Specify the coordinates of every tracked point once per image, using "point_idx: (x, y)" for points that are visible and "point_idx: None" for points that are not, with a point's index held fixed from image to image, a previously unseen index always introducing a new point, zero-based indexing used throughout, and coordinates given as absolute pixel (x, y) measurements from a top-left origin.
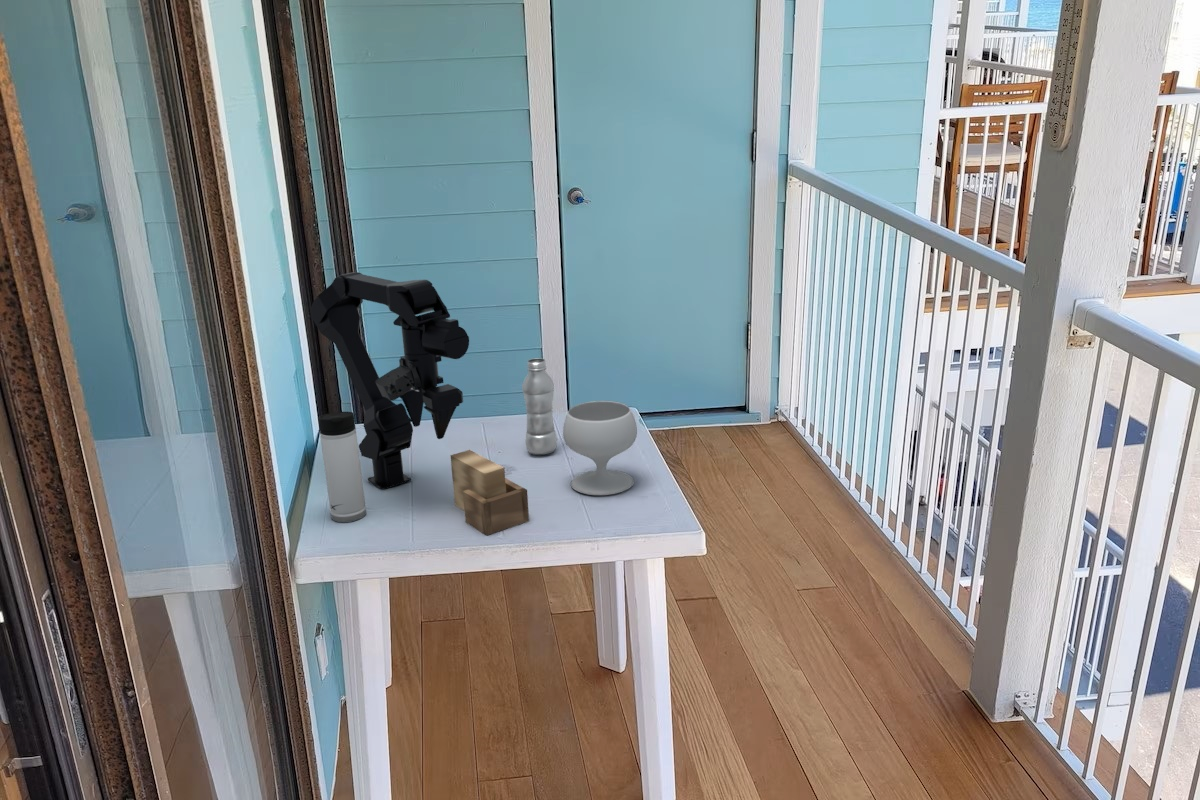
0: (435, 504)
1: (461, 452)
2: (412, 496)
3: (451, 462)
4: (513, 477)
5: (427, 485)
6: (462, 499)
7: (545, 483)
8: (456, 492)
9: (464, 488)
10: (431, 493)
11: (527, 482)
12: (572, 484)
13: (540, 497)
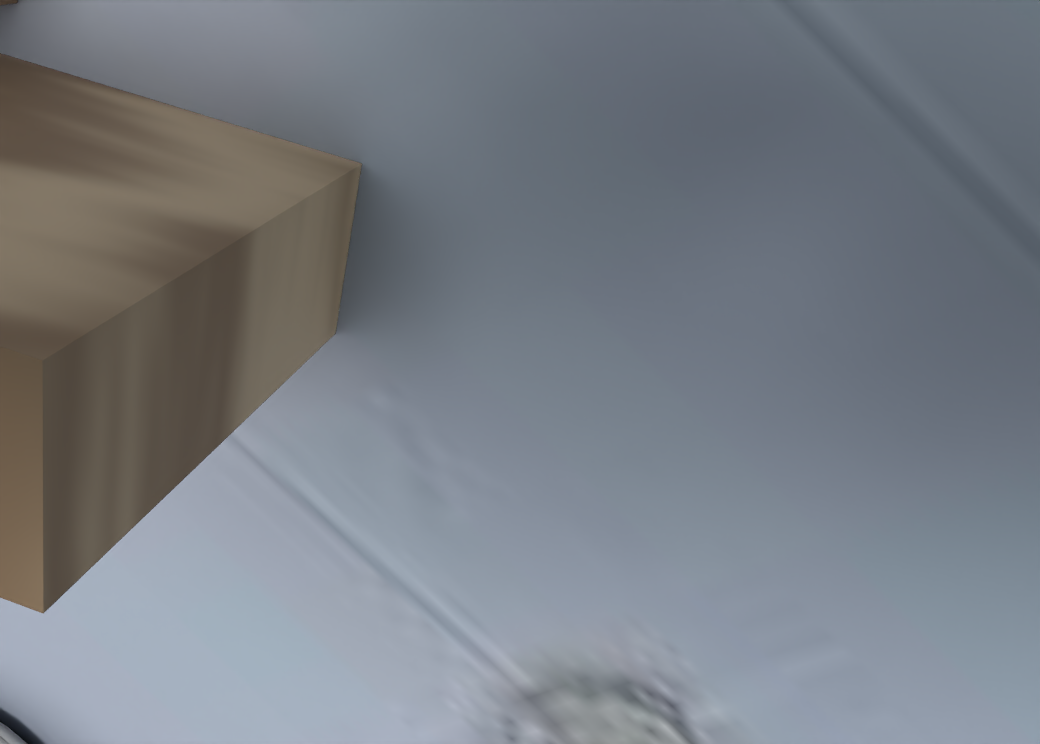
0: (520, 78)
1: (28, 504)
2: (879, 94)
3: (100, 313)
4: (408, 737)
5: (927, 372)
6: (168, 144)
7: (175, 724)
8: (247, 184)
9: (22, 156)
10: (748, 250)
11: (271, 703)
12: (3, 741)
13: None
